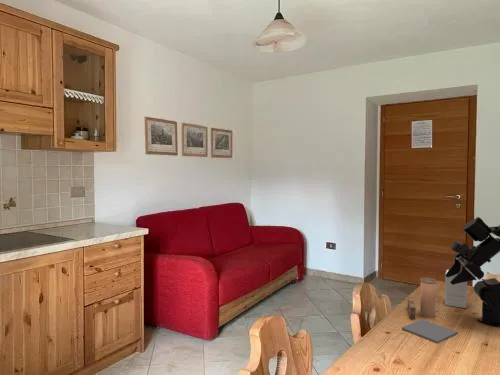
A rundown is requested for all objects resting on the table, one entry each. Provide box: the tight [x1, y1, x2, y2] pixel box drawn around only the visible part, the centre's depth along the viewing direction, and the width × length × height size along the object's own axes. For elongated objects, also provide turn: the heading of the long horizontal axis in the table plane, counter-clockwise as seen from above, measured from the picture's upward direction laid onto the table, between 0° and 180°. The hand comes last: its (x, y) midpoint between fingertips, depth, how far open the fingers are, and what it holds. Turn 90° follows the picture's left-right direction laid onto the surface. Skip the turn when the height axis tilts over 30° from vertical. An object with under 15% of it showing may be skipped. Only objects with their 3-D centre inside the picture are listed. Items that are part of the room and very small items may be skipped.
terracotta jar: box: [419, 277, 437, 319], centre depth 133 cm, size 5×5×13 cm
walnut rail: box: [407, 296, 416, 320], centre depth 135 cm, size 12×2×4 cm, turn 161°
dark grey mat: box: [401, 319, 458, 344], centre depth 119 cm, size 12×12×1 cm
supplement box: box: [444, 269, 468, 309], centre depth 144 cm, size 7×7×13 cm
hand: (448, 279), depth 130 cm, fingers open, 9 cm apart
